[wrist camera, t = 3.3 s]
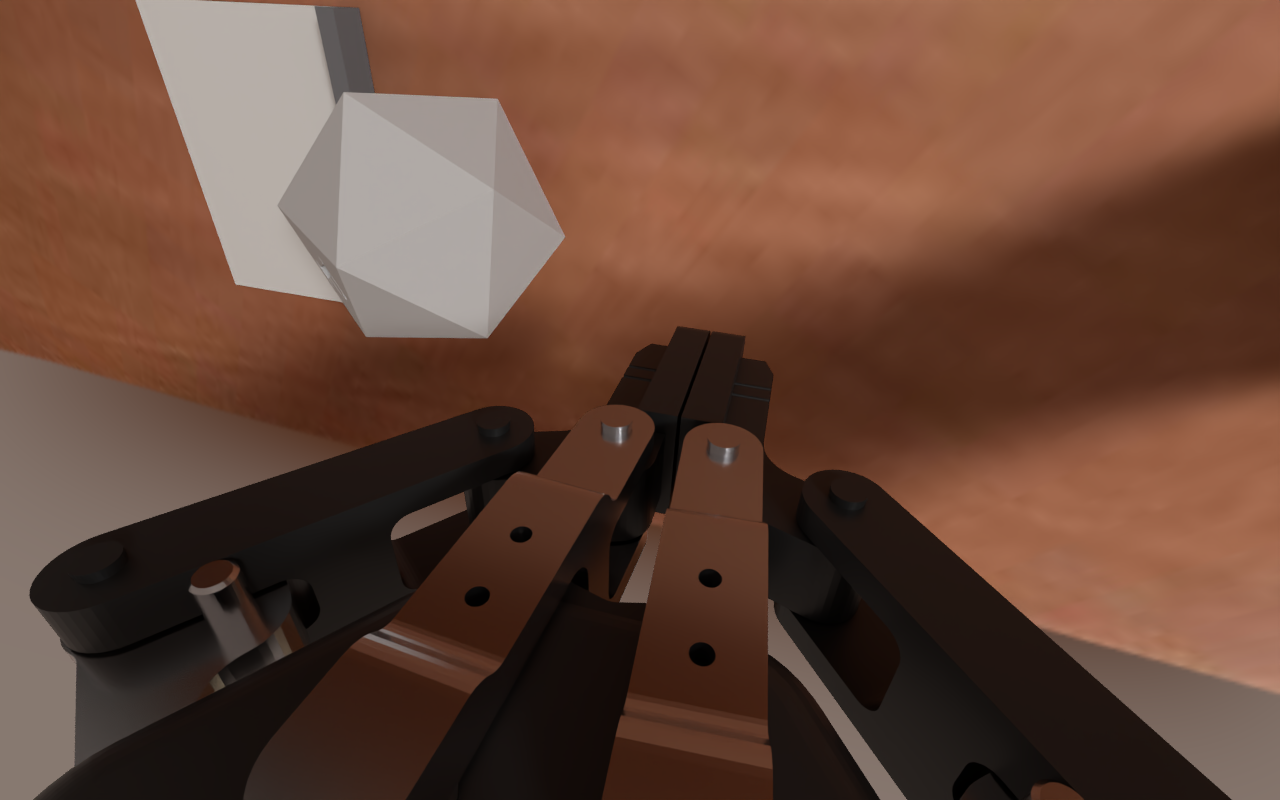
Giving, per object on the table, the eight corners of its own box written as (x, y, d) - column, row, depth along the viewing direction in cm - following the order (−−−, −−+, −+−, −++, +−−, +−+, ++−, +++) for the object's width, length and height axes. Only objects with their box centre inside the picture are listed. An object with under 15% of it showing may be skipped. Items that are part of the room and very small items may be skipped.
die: (367, 136, 26) (156, 187, 18) (527, 36, 22) (350, 44, 14) (467, 307, 30) (326, 415, 21) (622, 246, 26) (522, 350, 18)
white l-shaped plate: (358, 8, 23) (332, 7, 22) (414, 311, 31) (397, 323, 29) (141, -3, 26) (106, -4, 25) (240, 282, 33) (217, 292, 32)
